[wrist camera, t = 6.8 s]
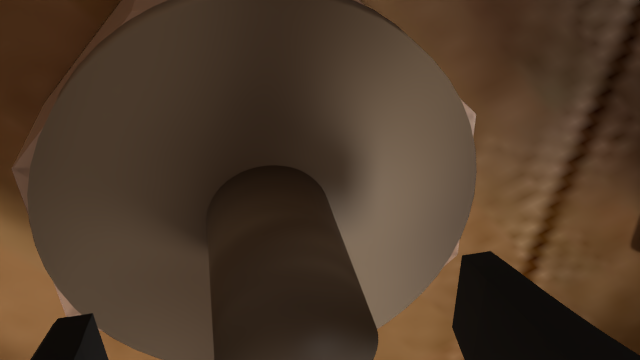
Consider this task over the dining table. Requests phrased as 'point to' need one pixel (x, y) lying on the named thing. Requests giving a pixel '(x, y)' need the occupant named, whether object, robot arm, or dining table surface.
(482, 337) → the robot arm
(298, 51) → the lid
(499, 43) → the dining table surface
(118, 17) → the bowl
